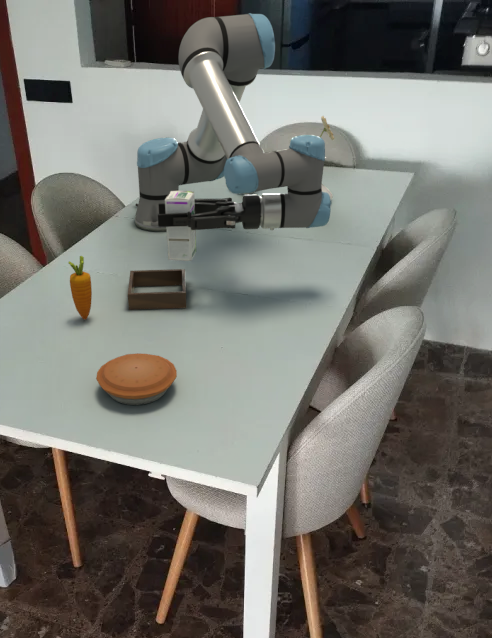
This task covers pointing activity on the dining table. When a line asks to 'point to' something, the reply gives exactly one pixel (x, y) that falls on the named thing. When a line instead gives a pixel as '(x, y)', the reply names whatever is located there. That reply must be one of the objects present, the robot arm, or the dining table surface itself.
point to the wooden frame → (157, 298)
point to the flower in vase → (326, 129)
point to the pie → (136, 378)
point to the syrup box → (180, 237)
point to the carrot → (81, 289)
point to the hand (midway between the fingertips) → (158, 215)
